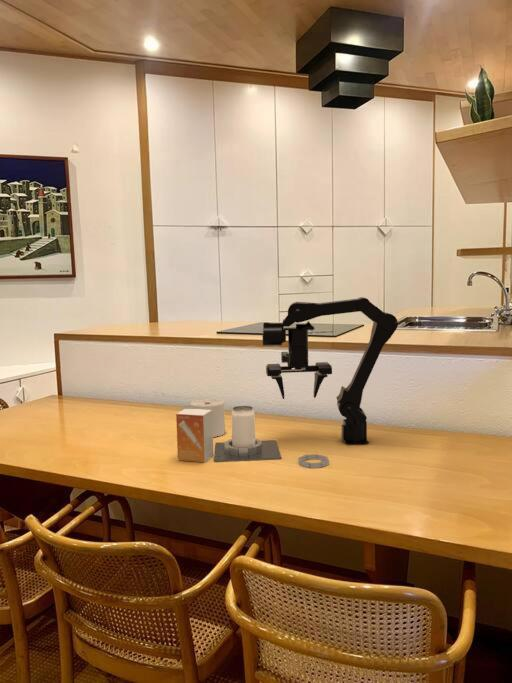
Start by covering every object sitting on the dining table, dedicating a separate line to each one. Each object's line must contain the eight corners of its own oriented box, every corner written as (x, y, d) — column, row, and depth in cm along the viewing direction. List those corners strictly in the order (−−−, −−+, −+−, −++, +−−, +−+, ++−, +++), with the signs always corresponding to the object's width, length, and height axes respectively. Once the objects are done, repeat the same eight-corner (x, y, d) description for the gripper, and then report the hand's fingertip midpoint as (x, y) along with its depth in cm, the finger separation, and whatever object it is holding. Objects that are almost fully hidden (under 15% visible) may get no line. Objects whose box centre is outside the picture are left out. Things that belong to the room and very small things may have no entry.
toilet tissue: (232, 432, 168) (231, 401, 167) (204, 441, 159) (202, 409, 158) (209, 427, 175) (208, 397, 174) (181, 435, 166) (179, 404, 165)
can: (237, 454, 144) (236, 411, 143) (229, 448, 150) (227, 407, 149) (259, 451, 147) (258, 408, 146) (249, 444, 153) (248, 404, 151)
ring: (325, 457, 141) (325, 453, 141) (330, 467, 134) (330, 463, 134) (297, 458, 141) (297, 455, 141) (301, 468, 134) (300, 464, 133)
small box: (177, 460, 142) (175, 413, 141) (187, 453, 148) (185, 408, 147) (205, 463, 140) (203, 415, 138) (214, 455, 146) (212, 409, 144)
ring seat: (276, 441, 157) (275, 433, 157) (281, 459, 141) (281, 450, 141) (215, 443, 156) (215, 436, 156) (213, 462, 140) (213, 453, 140)
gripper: (325, 341, 162) (325, 391, 163) (264, 343, 161) (265, 393, 162) (332, 345, 151) (332, 399, 152) (266, 347, 150) (268, 401, 151)
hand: (299, 398), depth 155 cm, fingers open, 9 cm apart
